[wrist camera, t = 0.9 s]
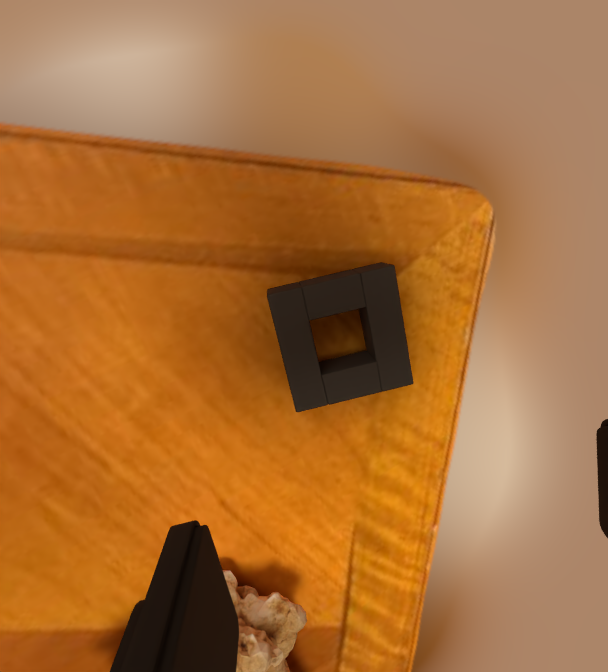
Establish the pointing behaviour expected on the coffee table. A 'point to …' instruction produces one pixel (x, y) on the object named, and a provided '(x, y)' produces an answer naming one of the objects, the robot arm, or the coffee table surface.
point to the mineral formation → (264, 627)
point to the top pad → (350, 370)
